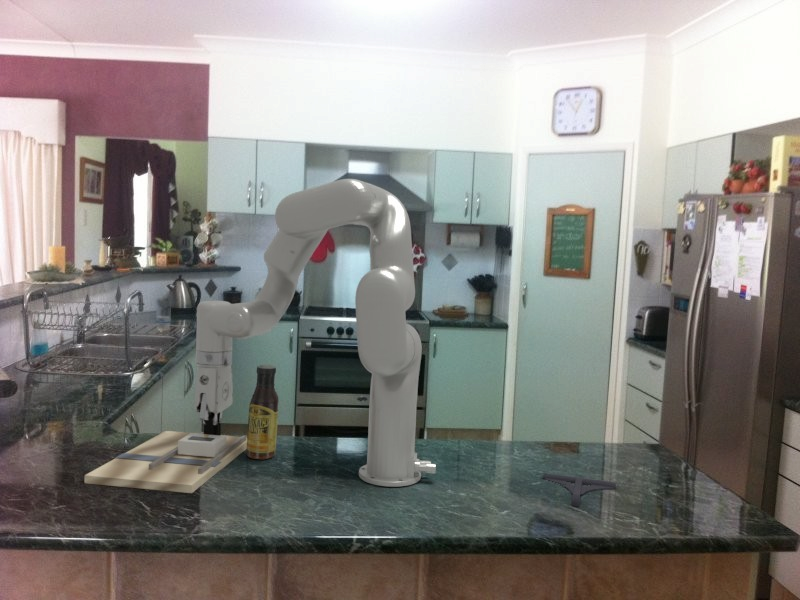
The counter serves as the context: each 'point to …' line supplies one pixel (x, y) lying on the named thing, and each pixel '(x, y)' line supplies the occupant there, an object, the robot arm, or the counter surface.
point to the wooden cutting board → (165, 465)
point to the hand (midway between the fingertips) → (212, 441)
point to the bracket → (579, 485)
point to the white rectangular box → (201, 445)
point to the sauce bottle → (263, 415)
